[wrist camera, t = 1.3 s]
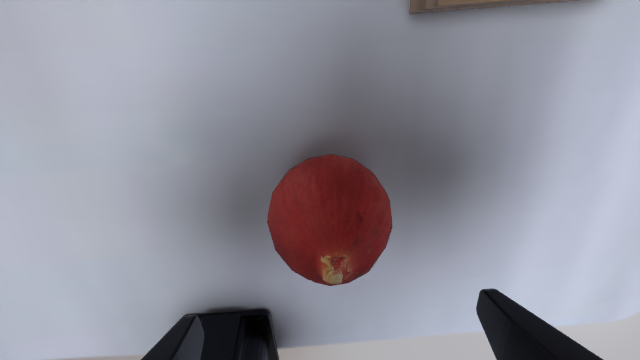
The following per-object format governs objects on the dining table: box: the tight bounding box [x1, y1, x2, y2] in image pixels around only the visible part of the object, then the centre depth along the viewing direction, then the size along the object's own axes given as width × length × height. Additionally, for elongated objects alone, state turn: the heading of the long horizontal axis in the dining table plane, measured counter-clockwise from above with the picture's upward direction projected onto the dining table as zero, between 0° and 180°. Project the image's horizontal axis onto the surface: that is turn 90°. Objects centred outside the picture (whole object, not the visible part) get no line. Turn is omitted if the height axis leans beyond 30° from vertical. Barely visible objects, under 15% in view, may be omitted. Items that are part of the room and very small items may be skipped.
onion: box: [267, 154, 392, 286], centre depth 14 cm, size 6×6×8 cm
